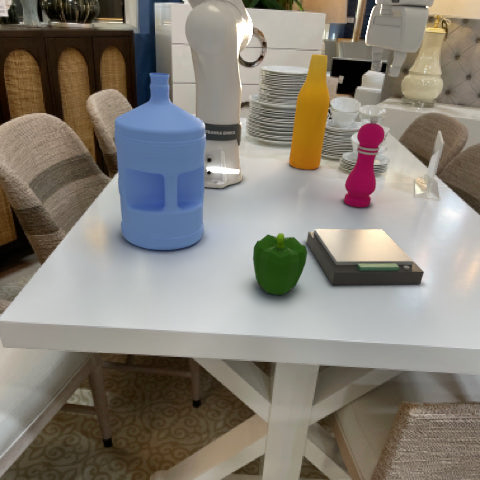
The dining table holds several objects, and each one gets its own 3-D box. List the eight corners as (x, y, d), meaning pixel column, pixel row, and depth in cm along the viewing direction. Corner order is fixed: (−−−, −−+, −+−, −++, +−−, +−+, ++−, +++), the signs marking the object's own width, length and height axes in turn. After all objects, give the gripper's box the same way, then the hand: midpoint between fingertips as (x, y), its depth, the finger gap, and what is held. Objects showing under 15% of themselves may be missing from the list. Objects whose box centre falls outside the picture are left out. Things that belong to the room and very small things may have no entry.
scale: (332, 285, 79) (335, 268, 78) (306, 242, 93) (308, 227, 92) (420, 284, 82) (425, 267, 80) (382, 243, 96) (386, 228, 94)
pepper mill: (371, 210, 112) (392, 120, 101) (341, 206, 113) (358, 116, 102) (371, 200, 118) (390, 114, 107) (342, 196, 119) (358, 111, 108)
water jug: (115, 223, 95) (102, 66, 80) (190, 217, 100) (191, 69, 85) (130, 256, 83) (118, 79, 68) (214, 247, 89) (221, 82, 73)
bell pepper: (267, 270, 82) (273, 215, 77) (308, 285, 79) (318, 229, 73) (239, 288, 76) (244, 230, 71) (283, 306, 73) (292, 246, 67)
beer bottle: (321, 171, 137) (339, 57, 121) (289, 168, 137) (303, 55, 121) (317, 162, 145) (334, 55, 129) (287, 160, 145) (300, 52, 129)
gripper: (365, -6, 100) (353, 67, 108) (407, -8, 84) (388, 79, 91) (393, -4, 101) (379, 69, 109) (440, -5, 85) (419, 80, 92)
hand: (383, 73), depth 100 cm, fingers open, 8 cm apart
